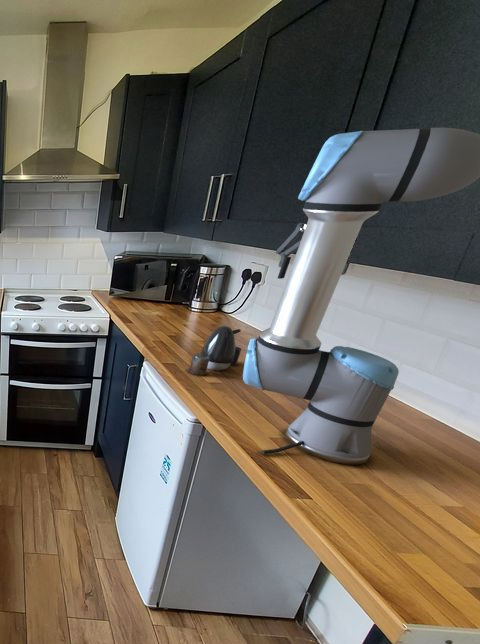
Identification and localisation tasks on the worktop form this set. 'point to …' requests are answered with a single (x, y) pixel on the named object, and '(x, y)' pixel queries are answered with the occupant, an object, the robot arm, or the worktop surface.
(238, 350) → the dark blue cylinder
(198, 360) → the dark brown cylinder
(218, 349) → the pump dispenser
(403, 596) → the worktop surface
